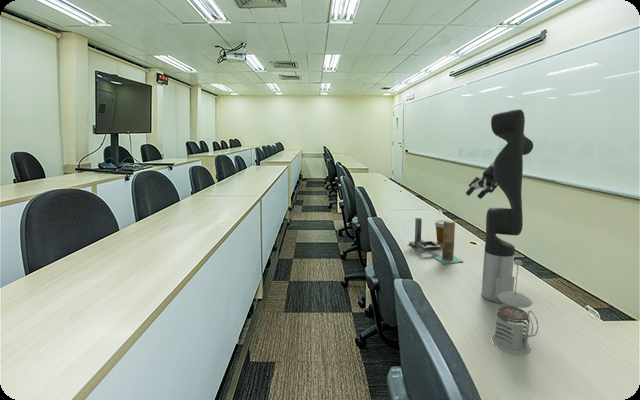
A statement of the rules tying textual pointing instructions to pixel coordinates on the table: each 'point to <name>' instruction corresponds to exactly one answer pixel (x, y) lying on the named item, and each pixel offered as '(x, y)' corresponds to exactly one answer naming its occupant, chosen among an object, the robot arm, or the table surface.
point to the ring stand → (419, 242)
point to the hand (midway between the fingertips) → (472, 196)
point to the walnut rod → (448, 240)
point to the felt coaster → (455, 260)
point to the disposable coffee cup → (439, 231)
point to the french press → (516, 339)
